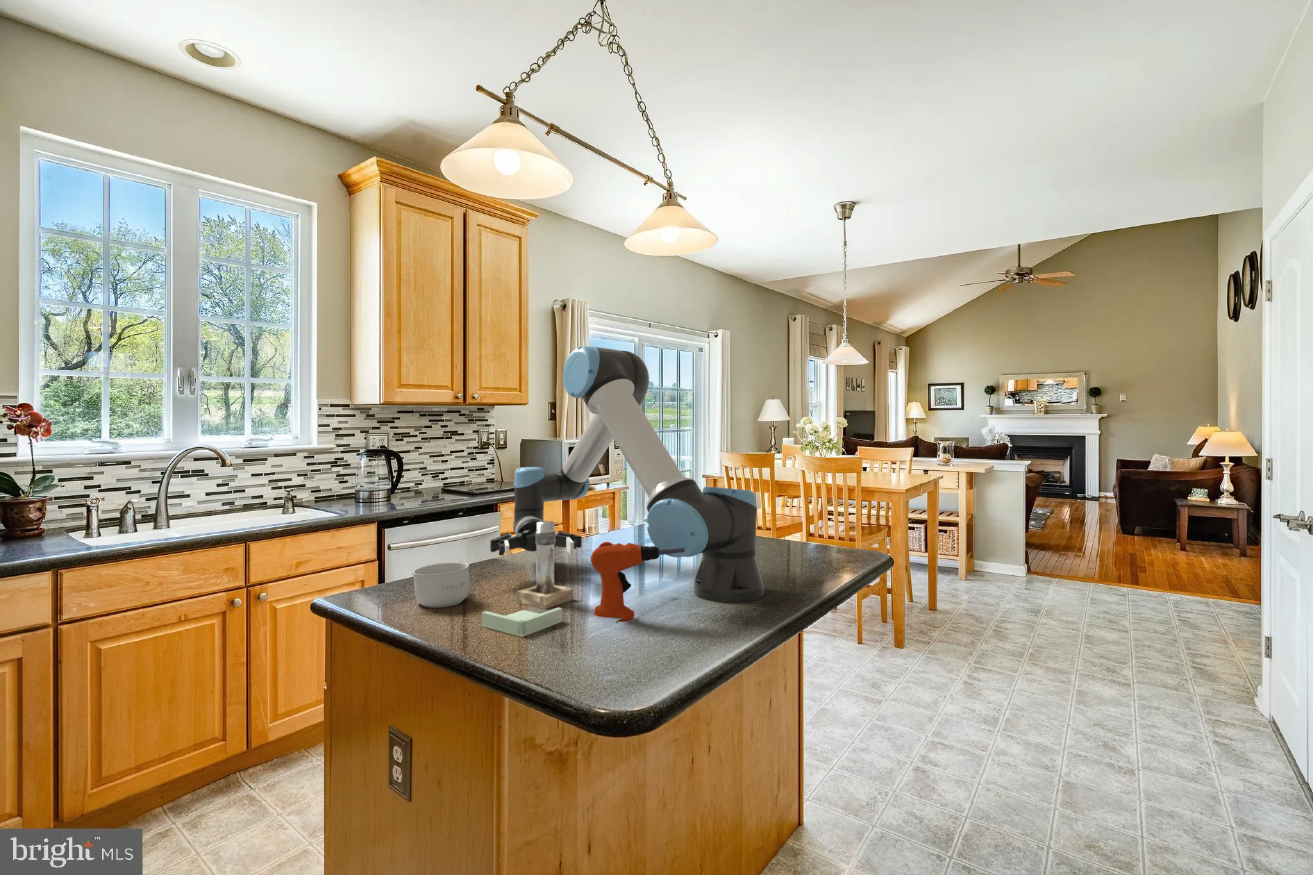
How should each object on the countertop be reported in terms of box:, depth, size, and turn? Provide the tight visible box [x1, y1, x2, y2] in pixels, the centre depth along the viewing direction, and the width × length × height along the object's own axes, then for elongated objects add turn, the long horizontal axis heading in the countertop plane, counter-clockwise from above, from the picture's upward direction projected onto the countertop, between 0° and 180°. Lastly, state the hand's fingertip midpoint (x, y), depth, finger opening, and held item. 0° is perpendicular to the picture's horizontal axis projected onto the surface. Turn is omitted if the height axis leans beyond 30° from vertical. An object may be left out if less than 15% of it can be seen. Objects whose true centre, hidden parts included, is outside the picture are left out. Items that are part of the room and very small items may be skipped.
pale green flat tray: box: [481, 607, 563, 638], centre depth 112 cm, size 10×10×3 cm
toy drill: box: [590, 541, 685, 623], centre depth 117 cm, size 5×19×15 cm, turn 82°
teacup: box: [412, 560, 470, 609], centre depth 127 cm, size 14×11×8 cm
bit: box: [535, 520, 556, 594], centre depth 127 cm, size 4×4×16 cm
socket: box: [516, 584, 574, 610], centre depth 127 cm, size 8×8×3 cm
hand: (540, 550), depth 132 cm, fingers open, 13 cm apart
